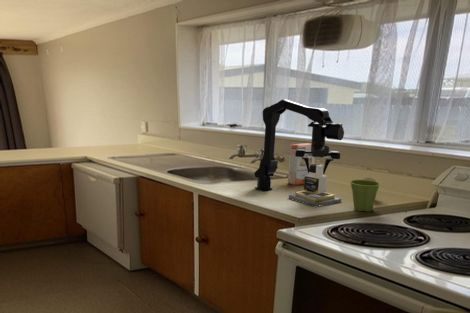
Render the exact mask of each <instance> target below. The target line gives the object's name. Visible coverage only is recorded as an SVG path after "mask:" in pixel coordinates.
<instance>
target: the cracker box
mask: <svg viewBox="0 0 470 313" xmlns="http://www.w3.org/2000/svg"><path fill="white" fill-rule="evenodd" d="M289 147H290V148H289V161H288V162H289V164H288V174H287V175H288V176H287V184H290V185H293V186H298V185H304V180H305V175H309V173H308V170H307V166H306V163H305V161H304V159H302V157H296V156H295V154H296V150H297V149H305V151H311V143H310V142H308V143H307V142H305V143H290V146H289ZM315 158H316V157H313V156H308V159H309V167H310V165H311V164H315V160H316V159H315Z"/></svg>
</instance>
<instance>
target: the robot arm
mask: <svg viewBox="0 0 470 313" xmlns="http://www.w3.org/2000/svg"><path fill="white" fill-rule="evenodd" d="M286 111H291V112H292V113H293V112H294V113H296V114H300V115H303V116H305V117H306V118H308V120H310V121H311V122H310V123H309V124H308V125H307V127H308V128H310V127H311V128H312V131H311V143H310V144H311V151H305V149H297V150H296V154H295V156H296V157H302V159H304V161H305V163H306V166H307V170H308V173H309V159H308V156H313V157H315V158H324V157H325V159H324V164H323V166H324V170H323V175H325V174H326V170H327V168H328V166H329V165H330V163H331V162H333V161H334V160H341V153H340V152H339V151H338V150H330V145H326V139H328V140H337V141H342V140H343V138H344V136H345V131H344V127H343V123H334V121H333V120H332V118H331V116H330V113H329V110H328V109H326V108H320V107H311V106H307V105H304V104H301V103H298V102H294V101H293V100H289V99H281V100H279V101H278V102H276V103H273V104H271V105H270V106H266V107H264V108H263V110H262V121H263V123H264V125H265V126H264V127H265V128H264V144H263V156H262V158H261V159H260V161H259V166H258V169H256V171H254V172H253V175H254V177H255V178H257V179H256V180H257V181H256V183H257V184H256V186H254V189H255V190H258V191H262V192H265V191H271V190H273V188H272V187H271V184H272V182H271V181H272V180H271V177H273V176H274V175H275V173H276V172H277V169H279V168H278V162H279V160H278V159H276V158H275V143H276V129H277V125H278V123H279V121H280V118H281V115H282V114H284V113H285V112H286Z"/></svg>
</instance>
